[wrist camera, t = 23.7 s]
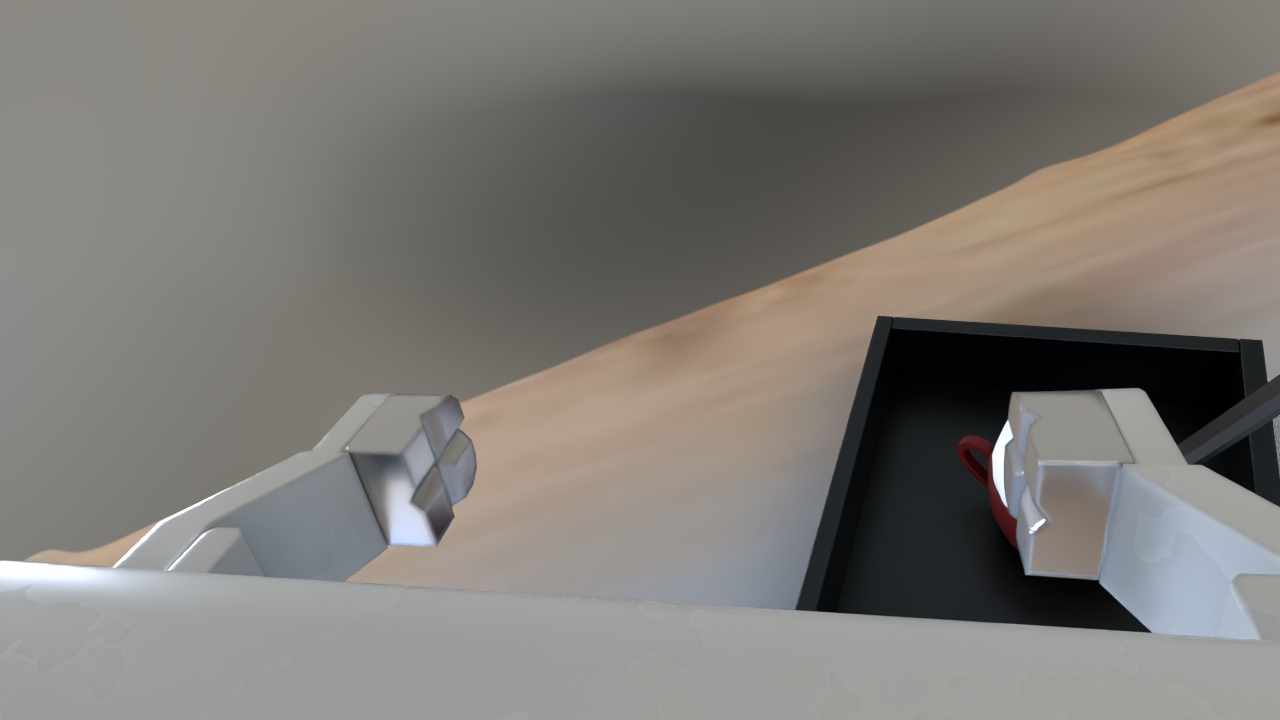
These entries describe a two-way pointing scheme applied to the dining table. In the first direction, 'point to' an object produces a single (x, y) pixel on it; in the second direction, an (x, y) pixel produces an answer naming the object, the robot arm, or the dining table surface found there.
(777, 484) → the dining table surface
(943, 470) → the tray
